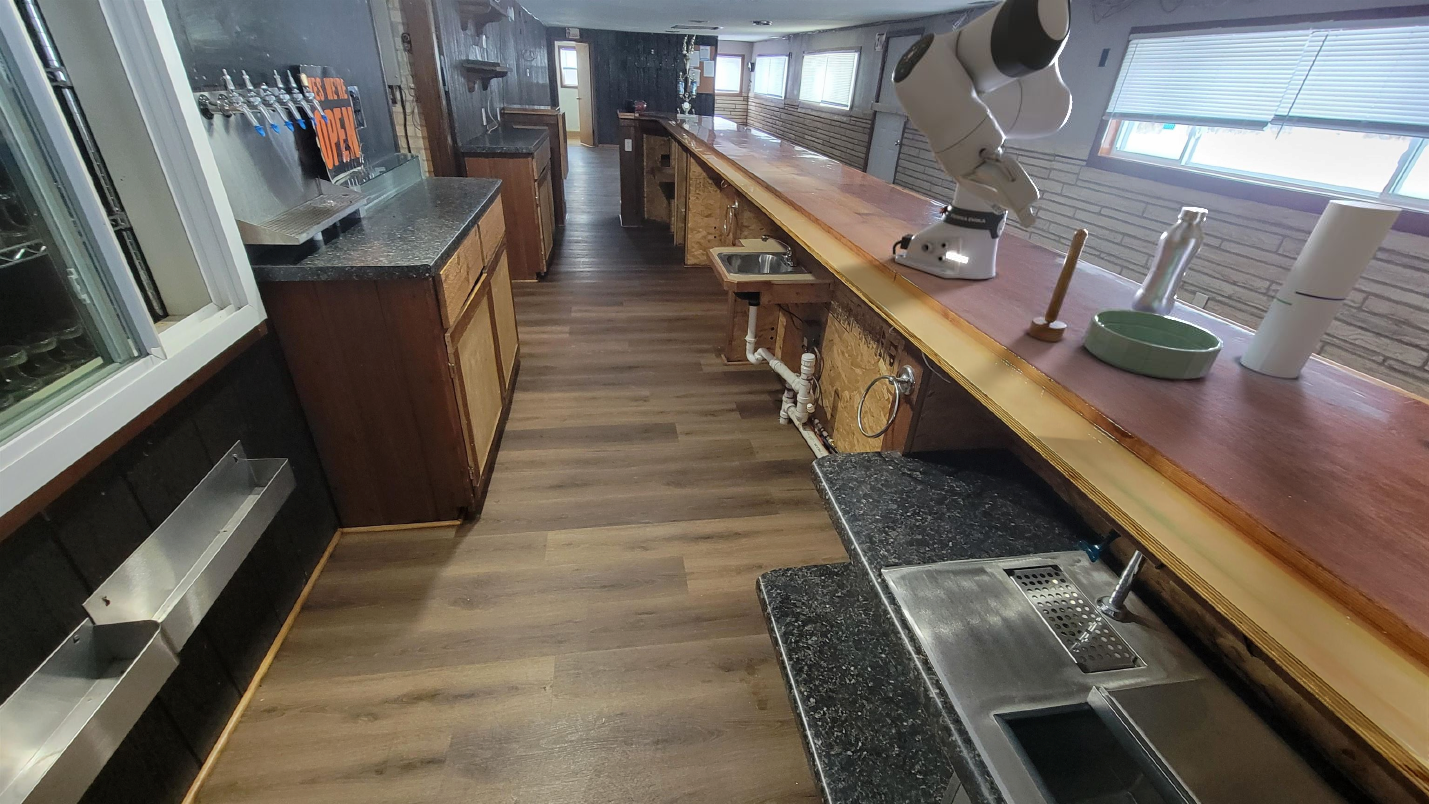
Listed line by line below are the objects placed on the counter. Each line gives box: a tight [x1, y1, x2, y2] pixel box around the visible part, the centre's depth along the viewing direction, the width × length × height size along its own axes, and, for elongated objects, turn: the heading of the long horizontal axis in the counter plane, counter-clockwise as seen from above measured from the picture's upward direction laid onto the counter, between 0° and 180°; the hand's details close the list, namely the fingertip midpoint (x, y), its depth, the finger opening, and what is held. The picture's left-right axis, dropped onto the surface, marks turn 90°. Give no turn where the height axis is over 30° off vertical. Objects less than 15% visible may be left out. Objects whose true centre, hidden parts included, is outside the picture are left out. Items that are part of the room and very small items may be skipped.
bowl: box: [1082, 308, 1224, 380], centre depth 90 cm, size 17×17×5 cm
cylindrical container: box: [1239, 199, 1403, 379], centre depth 84 cm, size 7×7×25 cm
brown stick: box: [1027, 228, 1088, 342], centre depth 93 cm, size 5×5×18 cm
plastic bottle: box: [1130, 206, 1208, 317], centre depth 104 cm, size 6×7×20 cm
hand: (1014, 217), depth 88 cm, fingers open, 8 cm apart
